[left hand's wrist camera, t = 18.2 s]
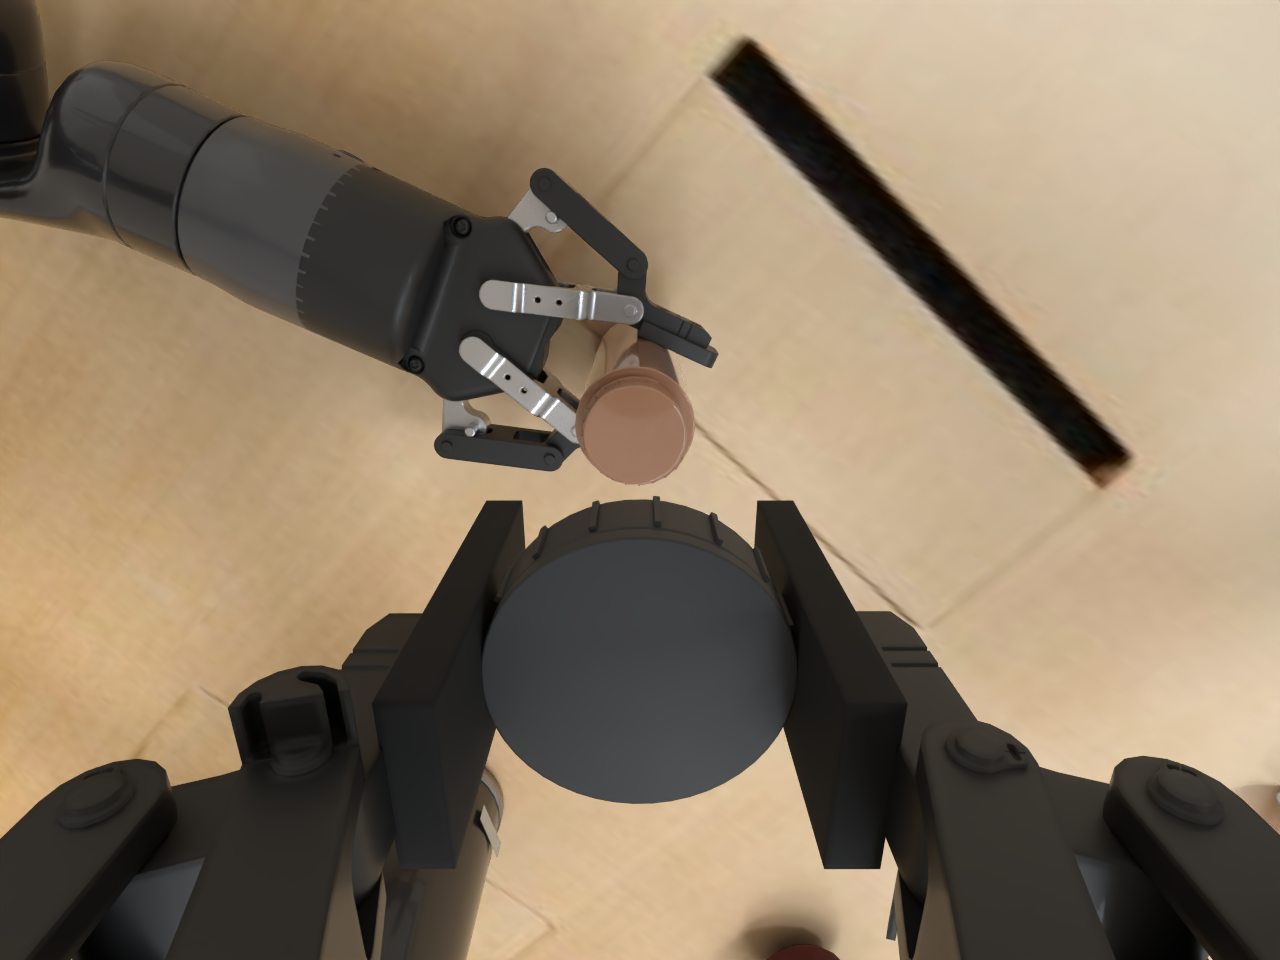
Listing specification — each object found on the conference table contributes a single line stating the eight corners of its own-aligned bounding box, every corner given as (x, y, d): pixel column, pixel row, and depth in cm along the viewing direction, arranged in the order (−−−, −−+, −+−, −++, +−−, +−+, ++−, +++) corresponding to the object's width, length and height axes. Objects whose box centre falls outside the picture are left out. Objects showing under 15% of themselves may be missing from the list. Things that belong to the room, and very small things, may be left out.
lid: (779, 483, 11) (800, 521, 10) (783, 732, 13) (801, 796, 11) (474, 508, 11) (450, 549, 10) (519, 750, 13) (504, 815, 12)
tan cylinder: (582, 369, 37) (548, 453, 23) (624, 302, 36) (615, 348, 22) (647, 411, 38) (652, 516, 24) (690, 347, 37) (722, 418, 23)
